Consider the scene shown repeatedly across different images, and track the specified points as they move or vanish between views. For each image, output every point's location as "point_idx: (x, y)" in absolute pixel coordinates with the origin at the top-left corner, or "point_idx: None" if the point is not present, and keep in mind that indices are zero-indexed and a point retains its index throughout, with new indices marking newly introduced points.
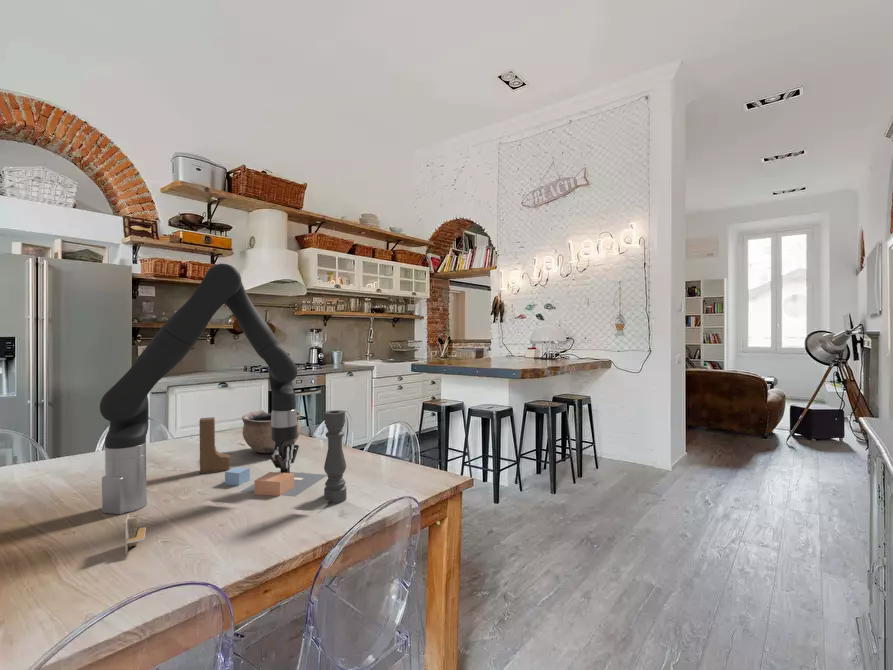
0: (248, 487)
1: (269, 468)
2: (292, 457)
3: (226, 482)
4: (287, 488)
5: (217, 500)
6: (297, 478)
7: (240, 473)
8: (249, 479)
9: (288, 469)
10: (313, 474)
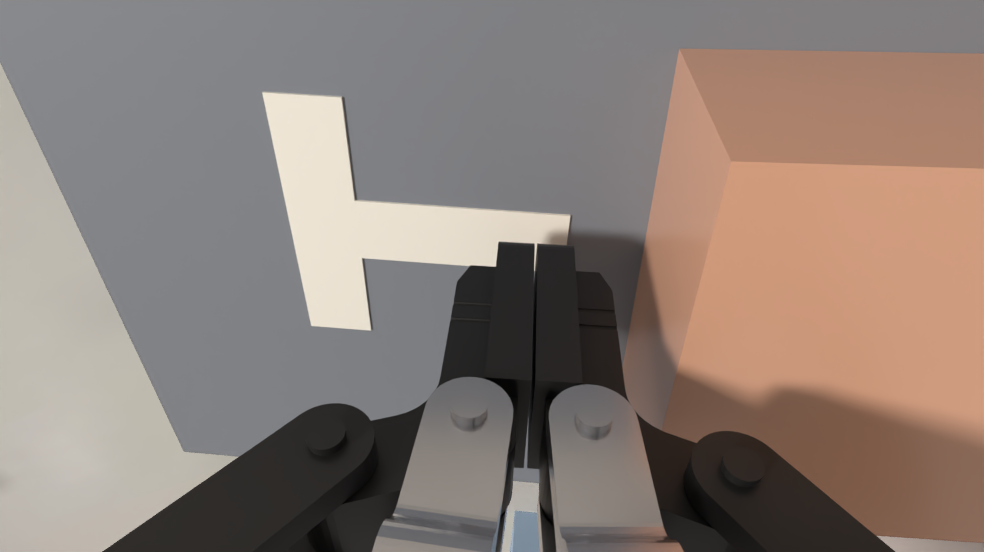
0: None
1: (124, 522)
2: (392, 545)
3: None
4: (945, 68)
5: (933, 548)
6: (311, 177)
7: None
8: (517, 550)
9: (528, 356)
10: (15, 18)
